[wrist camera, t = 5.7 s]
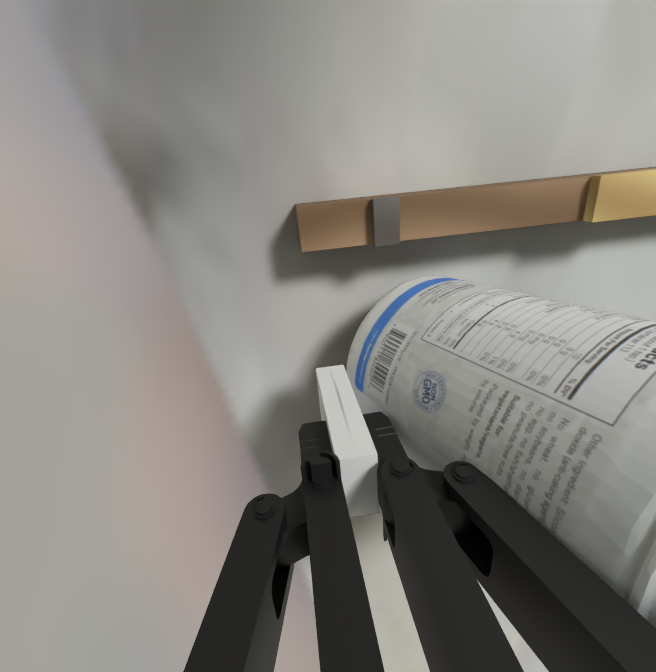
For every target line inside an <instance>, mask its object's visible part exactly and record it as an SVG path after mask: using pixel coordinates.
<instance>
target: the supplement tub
mask: <svg viewBox="0 0 656 672" xmlns="http://www.w3.org/2000/svg"><path fill="white" fill-rule="evenodd" d="M346 373H347V375H348V378H349V381H350V383H351V386H352V389H353V391H354V394H355V396H356V399H357V402H358V404H359V407H360V409H361V412H362V414H367V413H374V412H382V413H383V414H385V415H386V416H387V417H388V418H389V419H390V421H391V423H392V425H393V427H394V429H395V432H396V434H397V436H398V438H399V440H400V442H401V444H402V446H403V448H404V450H405V452H406V454H407V456H408V458H410V459H411V460H413V461H415V462H416V464H417V465H418V466H419V467H420V468H423V469H427V470H434V471H443V470H444V468H445V466H446V465H448V464H449V463H451V462H455V461H464V462H468V463H471V464H472V465H474V466H475V467H476V468H477V469H479V470H480V471H481V472H483V473H484V474H485V475H486V476H488V477H489V478H490V479H492V480H493V481H494V482H495V483H496V484H497V485H498V486H499V487H500V488H501V489H503V490H504V491H505V492H506V493H507V494H508V495H509V496H510V497H511V498H513V499H514V500H515V501H516V502H517V503H518V504H519V505H520V506H521V507H522V508H524V509H525V510H526V511H527V512H528V513H529V514H530V515H531V516H532V517H534V518H535V519H536V520H537V521H538V522H539V523H540V524H541V525H542V526H543V527H545V528H546V529H547V530H548V531H549V532H550V533H551V534H552V535H553V536H555V537H556V538H557V539H558V540H559V541H560V542H561V543H562V544H563V545H564V546H566V547H567V548H568V549H569V550H570V551H571V552H572V553H573V554H574V555H575V556H577V557H578V558H579V559H580V560H581V561H582V562H583V563H584V564H585V565H587V566H588V567H589V568H590V569H591V570H592V571H593V572H594V573H595V574H596V575H598V576H599V577H600V578H601V579H602V580H603V581H604V582H605V583H606V584H608V585H609V586H610V587H611V588H612V589H613V590H614V591H615V592H616V593H617V594H619V595H620V596H621V597H622V598H623V599H624V600H625V601H626V602H627V603H629V604H630V605H631V606H632V607H633V608H634V609H635V610H636V611H637V612H638V613H640V614H641V615H642V616H643V617H644V618H645V619H646V620H647V621H648V622H650V623H651V624H652V625H653V626H654V627H655V628H656V322H654V321H650V320H645V319H640V318H636V317H631V316H627V315H622V314H618V313H613V312H608V311H603V310H599V309H594V308H589V307H585V306H580V305H575V304H570V303H566V302H561V301H557V300H552V299H547V298H543V297H538V296H533V295H529V294H524V293H519V292H514V291H510V290H505V289H500V288H495V287H490V286H486V285H481V284H477V283H472V282H467V281H463V280H458V279H452V278H447V277H442V276H424V277H419V278H415V279H412V280H410V281H407V282H405V283H403V284H401V285H399V286H397V287H395V288H394V289H392V290H391V291H390V292H388V293H387V294H386V295H385V296H383V297H382V298H381V299H380V300H379V301H378V302H377V303H376V304H375V305H374V306H373V307H372V309H371V310H370V311H369V313H368V314H367V315H366V317H365V318H364V320H363V321H362V323H361V324H360V326H359V328H358V330H357V332H356V334H355V337H354V339H353V342H352V345H351V348H350V351H349V355H348V361H347V369H346Z"/></svg>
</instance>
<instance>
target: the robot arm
mask: <svg viewBox="0 0 656 672" xmlns="http://www.w3.org/2000/svg"><path fill="white" fill-rule="evenodd" d="M316 375H317V385H318V394H319V404H320V413H321V418H322V421H319V422H312V423H306V424H302V427H301V429H300V431H299V441H300V451H301V461H302V462H301V473H302V482H301V484H300V486H299V487H298V488H297V489H296V490H295V491H294V492H293V493H291V494H289V495H287V496H285V497H283V498H280V497H279V496H277V495H275V494H270V493H269V494H262V495H259V496H257V497H255V498H254V499H252V500H251V501H250V502H249V503H248V504H247V506H246V508H245V510H244V512H243V515H242V517H241V520H240V522H239V525H238V528H237V530H236V533H235V536H234V538H233V541H232V544H231V547H230V549H229V552H228V554H227V557H226V560H225V562H224V565H223V568H222V570H221V573H220V576H219V578H218V581H217V584H216V586H215V589H214V592H213V594H212V597H211V600H210V603H209V605H208V608H207V610H206V613H205V616H204V618H203V621H202V624H201V626H200V629H199V632H198V634H197V637H196V640H195V642H194V645H193V648H192V650H191V653H190V656H189V658H188V661H187V664H186V666H185V669H184V671H183V672H274V667H275V662H276V656H277V651H278V646H279V641H280V636H281V631H282V626H283V620H284V615H285V610H286V605H287V600H288V595H289V589H290V584H291V579H292V574H293V569H294V563H295V562H297V561H299V560H300V559H302V558H304V557H306V556H308V555H310V563H311V574H312V585H313V595H314V606H315V617H316V628H317V639H318V649H319V659H320V671H321V672H384V668H383V663H382V659H381V654H380V650H379V645H378V641H377V636H376V632H375V627H374V623H373V618H372V614H371V609H370V605H369V601H368V596H367V592H366V587H365V583H364V578H363V574H362V569H361V565H360V560H359V556H358V551H357V547H356V542H355V538H354V533H353V529H352V525H351V520H350V518H352V517H358V516H364V515H369V514H375V513H379V504H380V507H381V511H382V514H383V536H384V541H387V538H388V541H389V545H390V548H391V551H392V554H393V557H394V560H395V563H396V566H397V570H398V573H399V576H400V579H401V582H402V585H403V588H404V591H405V595H406V598H407V601H408V604H409V607H410V610H411V613H412V616H413V620H414V623H415V626H416V629H417V632H418V635H419V638H420V641H421V645H422V648H423V651H424V654H425V657H426V660H427V663H428V666H429V670H430V672H524V671H523V669H522V667H521V665H520V663H519V661H518V659H517V657H516V655H515V654H514V652H513V650H512V648H511V646H510V644H509V642H508V640H507V638H506V636H505V634H504V632H503V630H502V628H501V626H500V624H499V622H498V620H497V618H496V616H495V614H494V612H493V611H492V609H491V607H490V605H489V603H488V601H487V599H486V597H485V595H484V593H483V591H482V589H481V587H480V585H479V583H480V584H481V585H482V586H483V588H484V589H485V590H486V592H487V593H488V594H489V595H490V597H491V598H492V599H493V601H494V602H495V603H496V604H497V606H498V607H499V608H500V609H501V611H502V612H503V613H504V615H505V616H506V617H507V618H508V620H509V621H510V622H511V624H512V625H513V626H514V627H515V629H516V630H517V631H518V632H519V634H520V635H521V636H522V638H523V639H524V640H525V641H526V643H527V644H528V645H529V647H530V648H531V649H532V650H533V652H534V653H535V654H536V655H537V657H538V658H539V659H540V661H541V662H542V663H543V664H544V666H545V667H546V668H547V670H548V671H549V672H656V628H655V627H654V626H653V625H652V624H651V623H650V622H648V621H647V620H646V619H645V618H644V617H643V616H642V615H641V614H640V613H638V612H637V611H636V610H635V609H634V608H633V607H632V606H631V605H630V604H629V603H627V602H626V601H625V600H624V599H623V598H622V597H621V596H620V595H619V594H617V593H616V592H615V591H614V590H613V589H612V588H611V587H610V586H609V585H608V584H606V583H605V582H604V581H603V580H602V579H601V578H600V577H599V576H598V575H596V574H595V573H594V572H593V571H592V570H591V569H590V568H589V567H588V566H587V565H585V564H584V563H583V562H582V561H581V560H580V559H579V558H578V557H577V556H575V555H574V554H573V553H572V552H571V551H570V550H569V549H568V548H567V547H566V546H564V545H563V544H562V543H561V542H560V541H559V540H558V539H557V538H556V537H555V536H553V535H552V534H551V533H550V532H549V531H548V530H547V529H546V528H545V527H543V526H542V525H541V524H540V523H539V522H538V521H537V520H536V519H535V518H534V517H532V516H531V515H530V514H529V513H528V512H527V511H526V510H525V509H524V508H522V507H521V506H520V505H519V504H518V503H517V502H516V501H515V500H514V499H513V498H511V497H510V496H509V495H508V494H507V493H506V492H505V491H504V490H503V489H501V488H500V487H499V486H498V485H497V484H496V483H495V482H494V481H493V480H492V479H490V478H489V477H488V476H486V475H485V474H484V473H483V472H481V471H480V470H479V469H477V468H476V467H475V466H474V465H472V464H471V463H468V462H464V461H455V462H451V463H449V464H448V465H446V466H445V468H444V470H443V471H434V470H427V469H423V468H420V467H419V466H418V465H417V464H416V462H415V461H413V460H411V459H410V458H408V456H407V454H406V452H405V450H404V448H403V446H402V444H401V442H400V440H399V438H398V436H397V434H396V432H395V429H394V427H393V425H392V423H391V421H390V419H389V418H388V417H387V416H386V415H385V414H383V413H382V412H374V413H367V414H362V412H361V409H360V407H359V404H358V402H357V399H356V396H355V394H354V391H353V389H352V386H351V383H350V381H349V378H348V375H347V373H346V370H345V368H344V365H337V366H329V367H322V368H316ZM477 580H478V581H479V583H478V581H477Z"/></svg>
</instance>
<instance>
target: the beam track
mask: <svg viewBox="0 0 656 672" xmlns="http://www.w3.org/2000/svg"><path fill="white" fill-rule="evenodd" d="M295 211H296V219H297V227H298V236H299V244H300V247H301V250H302V252H308V251H317V250H326V249H334V248H343V247H352V246H361V245H369V244H373V246H374V247H379V246H388V245H397V244H400V241H404V240H413V239H422V238H431V237H440V236H448V235H457V234H466V233H475V232H483V231H492V230H501V229H510V228H518V227H527V226H536V225H545V224H554V223H562V222H571V221H580V220H583V221H585V222H601V221H609V220H618V219H627V218H635V217H644V216H653V215H656V167H649V168H640V169H630V170H620V171H611V172H601V173H591V174H582V175H572V176H562V177H553V178H543V179H534V180H524V181H514V182H505V183H495V184H485V185H476V186H466V187H456V188H447V189H437V190H427V191H418V192H408V193H399V194H389V195H379V196H370V197H360V198H350V199H341V200H331V201H321V202H312V203H302V204H295Z"/></svg>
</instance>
